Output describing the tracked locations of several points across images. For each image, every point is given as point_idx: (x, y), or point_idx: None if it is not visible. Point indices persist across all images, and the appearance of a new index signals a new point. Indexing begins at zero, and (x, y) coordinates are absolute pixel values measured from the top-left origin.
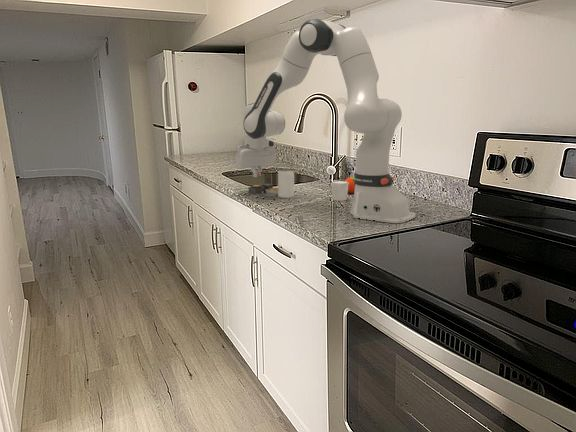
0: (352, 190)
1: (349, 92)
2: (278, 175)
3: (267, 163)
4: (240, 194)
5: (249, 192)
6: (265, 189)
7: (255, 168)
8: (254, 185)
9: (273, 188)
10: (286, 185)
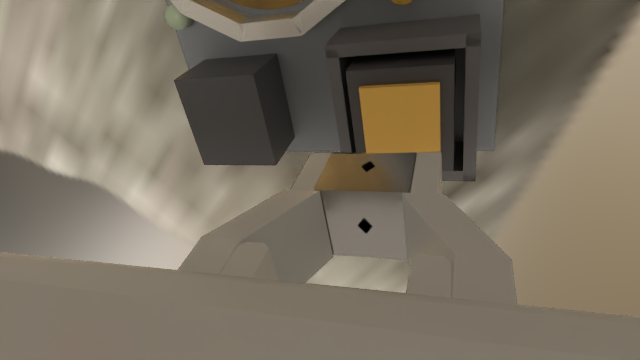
0: None
1: None
2: None
3: (11, 267)
4: (508, 206)
5: (485, 128)
6: (281, 91)
7: (449, 269)
8: (414, 147)
9: (215, 8)
10: None
